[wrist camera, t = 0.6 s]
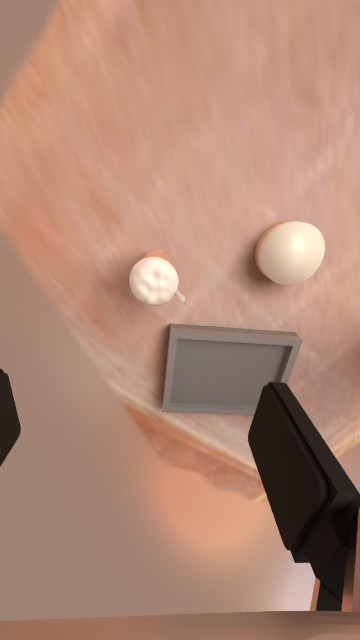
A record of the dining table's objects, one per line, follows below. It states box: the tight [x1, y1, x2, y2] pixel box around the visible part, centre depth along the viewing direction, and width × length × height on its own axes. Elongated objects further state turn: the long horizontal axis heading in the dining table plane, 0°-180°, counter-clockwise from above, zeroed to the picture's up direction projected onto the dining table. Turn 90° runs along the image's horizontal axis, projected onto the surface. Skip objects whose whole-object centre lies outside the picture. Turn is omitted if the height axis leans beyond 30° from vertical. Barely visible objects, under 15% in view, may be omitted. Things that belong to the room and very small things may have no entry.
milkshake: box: [129, 249, 186, 305], centre depth 26 cm, size 4×5×10 cm
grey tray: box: [162, 324, 302, 415], centre depth 37 cm, size 18×14×2 cm
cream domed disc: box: [255, 221, 325, 285], centre depth 29 cm, size 7×7×3 cm
